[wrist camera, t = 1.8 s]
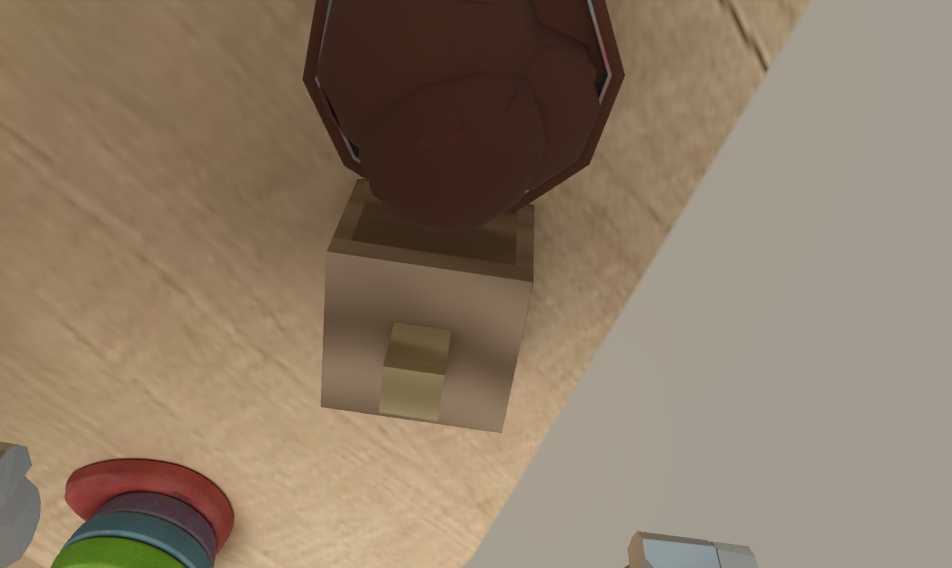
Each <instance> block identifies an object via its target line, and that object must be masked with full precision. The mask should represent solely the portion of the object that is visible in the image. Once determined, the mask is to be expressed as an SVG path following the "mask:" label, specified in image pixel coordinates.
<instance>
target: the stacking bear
mask: <svg viewBox="0 0 952 568" xmlns="http://www.w3.org/2000/svg"><path fill="white" fill-rule="evenodd" d="M65 500H66V502H67V504H68V505H69V506H70V507H71V508H72V509H73V511H74V512H75V513H76V514H77V515H79V516H80V517H81V518H82V519H84V520H85V521H86V522H85V523H84V524H83V525H81V526H80V528H79V529H78V530H77V531H76V532H75V533H74V534H73V535H72V536H71V538H70V539H69V540H68V541H67V542H66V544H65V545H64V546H63V548H62V549H61V551H60V553H59V554H58V556H57V557H56V558H55V560H54V562H53V564H52V566H51V568H213V567H214V561H215V555H216V554H217V553H218V552H219V550H220V549H221V547H222V546H223V545H224V543H225V542H226V540H227V538H228V536H229V534H230V532H231V530H232V526H233V514H232V510H231V507H230V505H229V503H228V501H227V499H226V498H225V496H224V495H223V494H222V493H221V491H220V490H219V489H218V488H217V487H216V486H214V485H213V484H212V483H211V482H210V481H208V480H207V479H205V478H204V477H202V476H200V475H199V474H197V473H195V472H193V471H191V470H188V469H186V468H183V467H180V466H176V465H172V464H168V463H162V462H156V461H146V460H116V461H108V462H102V463H98V464H94V465H90V466H87V467H85V468H82V469H80V470H78V471H76V472H74V473H73V474H72V475H71V476H70V477H69V479H68V481H67V483H66V493H65Z"/></svg>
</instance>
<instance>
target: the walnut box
mask: <svg viewBox="0 0 952 568" xmlns="http://www.w3.org/2000/svg"><path fill="white" fill-rule="evenodd" d="M333 238H337V239H344V240H351V241H357V242H364V243H371V244H377V245H384V246H391V247H397V248H404V249H411V250H418V251H424V252H431V253H438V254H444V255H451V256H458V257H464V258H471V259H478V260H484V261H491V262H498V263H505V264H511V265H518V266H525V267H531V268H533V240H534V206H533V205H526V206H524V207H523V208H521V209H520V210H518V211H517V212H515V213H514V214H501V215H499V216H498V217H496V218H494V219H493V220H491V221H490V222H488V223H487V224H485V225H484V226H482V227H477V228H470V229H463V230H456V231H450V232H443V233H434V232H431V231H428V230H425V229H422V228H420V227H417V226H414V225H411V224H409V223H406V222H403V221H400V220H398V219H396V218H395V217H394V216H392V215H391V214H390V213H389V212H387V211H386V210H385V208H384V207H383V205H382V203H381V201H380V200H378V199H377V198H376V197H375V196H373V195H372V192H371V190H370V187H369V181H367V180H360V179H358V181H357V183H356V185H355V187H354V190H353V192H352V194H351V197H350V199H349V201H348V204H347V206H346V208H345V210H344V213H343V215H342V217H341V220H340V222H339V224H338V227H337V229H336V231H335V233H334V236H333Z"/></svg>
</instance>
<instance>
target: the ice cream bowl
mask: <svg viewBox="0 0 952 568" xmlns="http://www.w3.org/2000/svg"><path fill="white" fill-rule="evenodd" d="M624 76H625V74H624V70H623V66H622V63H621V59H620V55H619V52H618V48H617V44H616V40H615V37H614V33H613V29H612V25H611V22H610V18H609V14H608V11H607V7H606V3H605V0H316V4H315V10H314V15H313V21H312V27H311V33H310V39H309V45H308V51H307V57H306V63H305V69H304V75H303V81H304V84H305V86H306V88H307V90H308V92H309V94H310V96H311V98H312V100H313V102H314V104H315V106H316V108H317V110H318V112H319V114H320V117H321V119H322V121H323V123H324V125H325V127H326V129H327V131H328V133H329V135H330V137H331V139H332V141H333V143H334V145H335V148H336V150H337V152H338V154H339V156H340V158H341V160H342V162H343V164H344V166H346V167H347V168H349V169H350V170H352V171H354V172H355V173H357V174H359V175H360V176H362V177H363V178H365V179H367V180H368V181H369V187H370V190H371V192H372V195H373V196H375V197H376V198H377V199H378V200H380V201H381V203H382V205H383V207H384V208H385V210H386V211H387V212H389V213H390V214H391V215H392V216H394V217H395V218H396V219H398V220H400V221H403V222H406V223H409V224H411V225H414V226H417V227H420V228H422V229H425V230H428V231H431V232H434V233H443V232H450V231H456V230H463V229H470V228H477V227H482V226H484V225H485V224H487V223H488V222H490V221H491V220H493V219H494V218H496V217H498V216H499V215H501V214H514V213H515V212H517V211H518V210H520V209H521V208H523V207H524V206H526V205H527V204H529V203H531V202H532V201H534V200H535V199H537V198H538V197H540V196H541V195H543V194H544V193H546V192H547V191H549V190H551V189H552V188H554V187H555V186H557V185H558V184H560V183H561V182H563V181H564V180H566V179H567V178H569V177H571V176H572V175H574V174H575V173H577V172H578V171H580V170H581V169H583V168H584V167H586V166H587V165H589V164H590V161H591V159H592V156H593V154H594V151H595V149H596V146H597V144H598V141H599V139H600V136H601V134H602V131H603V129H604V126H605V124H606V121H607V119H608V116H609V114H610V111H611V109H612V106H613V104H614V101H615V99H616V96H617V94H618V91H619V89H620V86H621V84H622V81H623V79H624Z"/></svg>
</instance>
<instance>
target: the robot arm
mask: <svg viewBox="0 0 952 568" xmlns="http://www.w3.org/2000/svg"><path fill="white" fill-rule="evenodd" d="M31 466H32V463H31V460H30V457H29V453H28V450H27V447H25V446H21V445H17V444H11V443H5V442H0V568H6V567H7V566H9V565H11V564H12V563H14V562H16V561H17V560H19V559H21V557H22V555H23V554H24V552H25V551H26V549H27V547H28V546H29V544H30V543H31V541H32V539H33V536H34V533H35V530H36V527H37V524H38V521H39V518H40V504H41V501H40V496H39V492H38V488H37V487H36V486H35V485H34V484H33V483H32V482H30V481H29V480H28V479H27V478H26V477H25V476H24V475H25V474H26V473H27V471H28V470H29V468H30V467H31ZM628 556H629V565H628V566H626V567H625V568H758V566H757V563H756V559H755V556H754V553H753V552H752V551H751V549H750V548H749V547H747V546H740V545H733V544H726V543H718V542H709V541H707V540H701V539H693V538H685V537H678V536H670V535H662V534H654V533H647V532H638V531H637V532H636V533H635V534H634V536H633V537H632V539H631V542H630V544H629V547H628Z"/></svg>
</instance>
